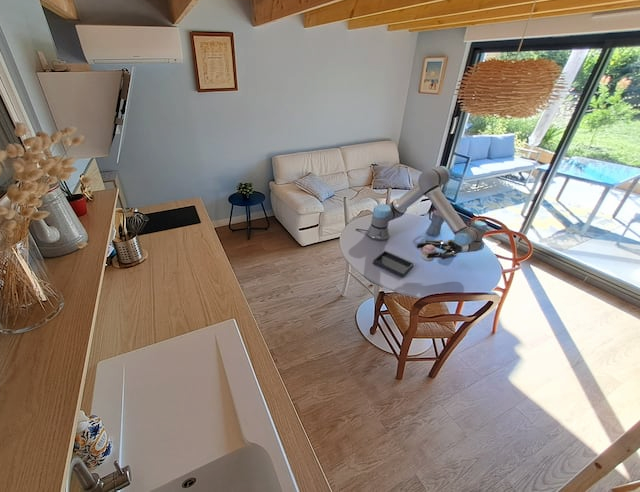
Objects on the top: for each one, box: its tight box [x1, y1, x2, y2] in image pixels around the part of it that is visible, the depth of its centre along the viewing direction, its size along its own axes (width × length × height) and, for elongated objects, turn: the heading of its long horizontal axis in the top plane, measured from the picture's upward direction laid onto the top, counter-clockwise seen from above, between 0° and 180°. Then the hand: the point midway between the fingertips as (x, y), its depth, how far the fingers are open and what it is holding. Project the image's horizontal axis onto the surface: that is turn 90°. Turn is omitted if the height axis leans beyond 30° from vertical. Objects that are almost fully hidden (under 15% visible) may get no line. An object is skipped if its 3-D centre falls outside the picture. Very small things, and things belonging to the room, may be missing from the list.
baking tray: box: [372, 250, 414, 278], centre depth 181 cm, size 20×15×3 cm
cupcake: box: [420, 244, 438, 262], centre depth 166 cm, size 9×9×10 cm
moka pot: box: [426, 207, 445, 237], centre depth 210 cm, size 10×15×20 cm, turn 27°
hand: (422, 250), depth 165 cm, fingers closed on cupcake, 9 cm apart
